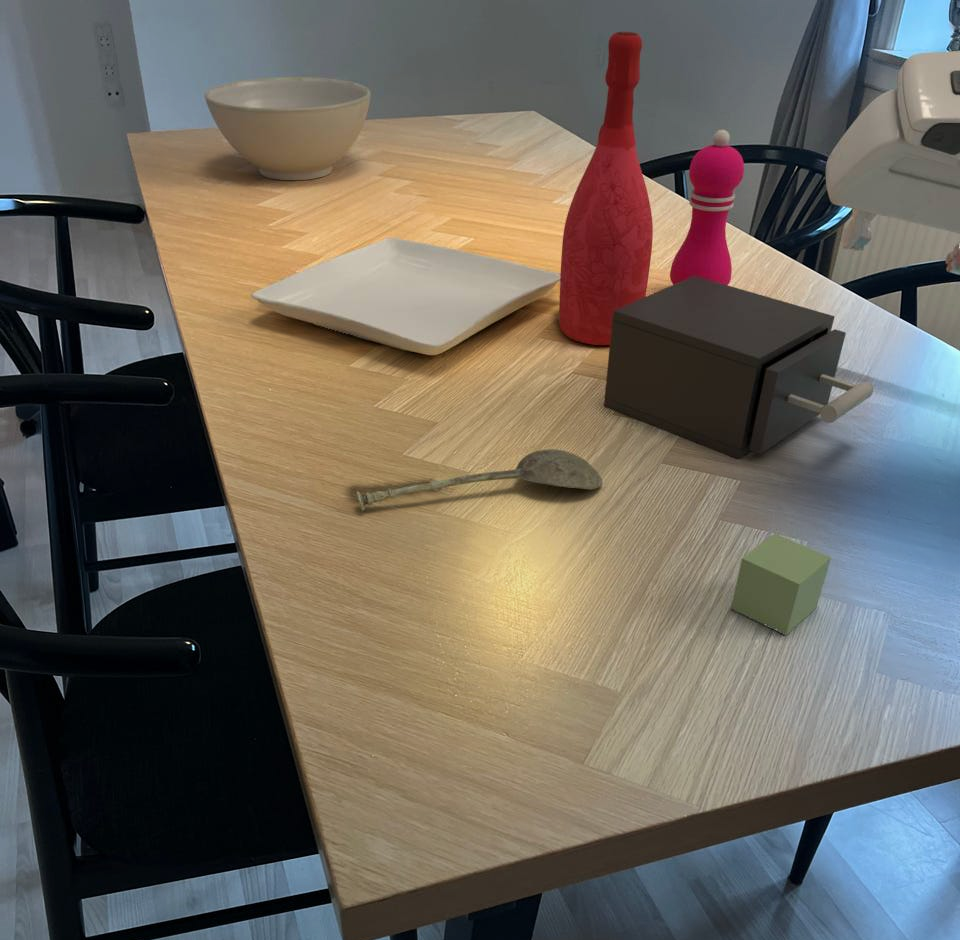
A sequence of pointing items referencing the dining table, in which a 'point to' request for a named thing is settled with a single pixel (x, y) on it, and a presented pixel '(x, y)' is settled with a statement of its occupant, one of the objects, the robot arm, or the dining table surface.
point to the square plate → (408, 294)
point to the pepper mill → (709, 213)
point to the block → (780, 583)
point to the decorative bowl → (290, 122)
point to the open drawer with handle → (801, 390)
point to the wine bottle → (608, 214)
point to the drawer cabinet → (701, 358)
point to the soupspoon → (515, 475)
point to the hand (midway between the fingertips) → (902, 256)
